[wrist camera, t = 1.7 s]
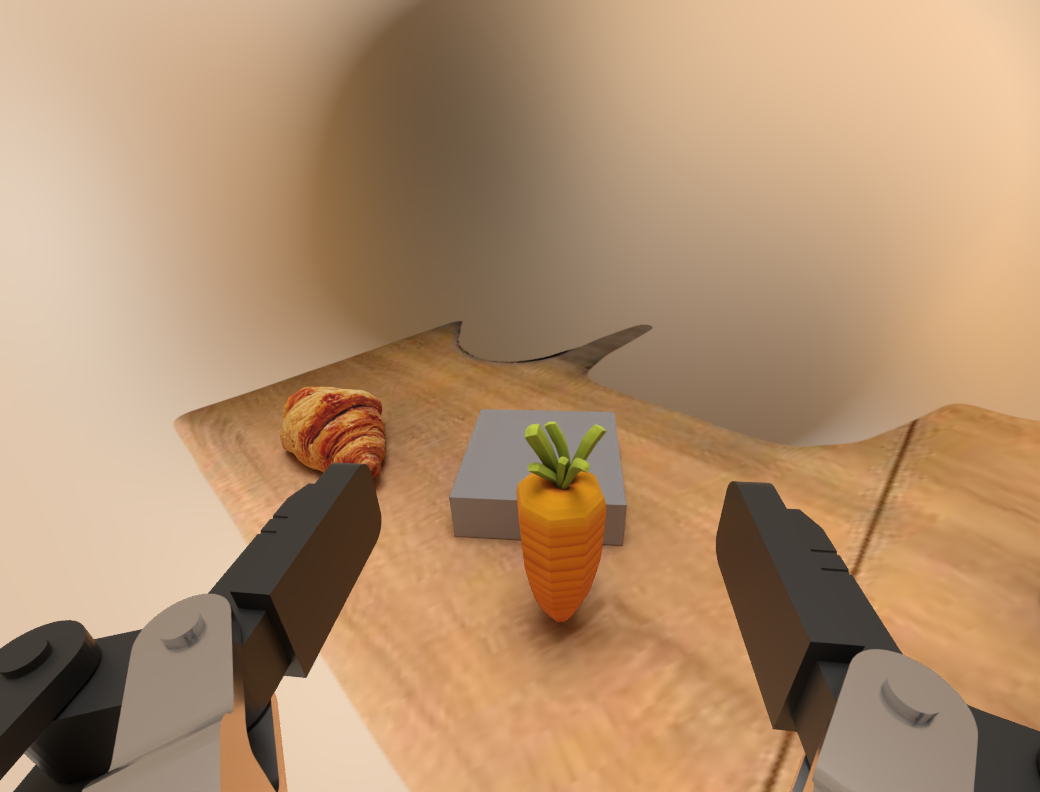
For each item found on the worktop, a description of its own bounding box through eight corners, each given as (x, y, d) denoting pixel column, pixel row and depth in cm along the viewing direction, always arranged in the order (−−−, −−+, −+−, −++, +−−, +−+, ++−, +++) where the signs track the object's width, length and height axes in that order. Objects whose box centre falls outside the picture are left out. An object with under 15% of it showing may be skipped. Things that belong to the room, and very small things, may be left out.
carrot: (604, 595, 31) (617, 402, 24) (592, 666, 27) (604, 458, 19) (533, 579, 32) (525, 392, 25) (511, 644, 28) (495, 442, 21)
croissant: (293, 439, 56) (239, 398, 51) (354, 382, 59) (310, 337, 53) (357, 533, 41) (291, 489, 36) (436, 450, 44) (386, 398, 38)
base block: (611, 446, 46) (614, 412, 44) (622, 545, 35) (626, 505, 33) (484, 442, 47) (481, 409, 45) (455, 536, 36) (449, 497, 34)
